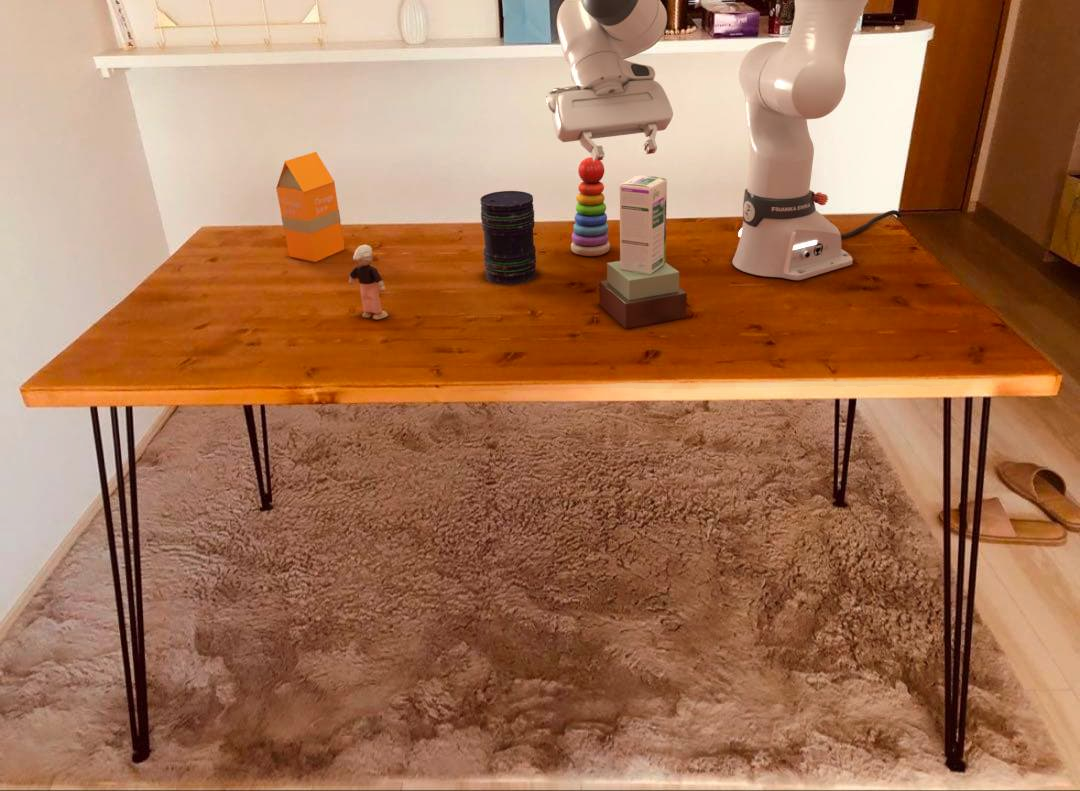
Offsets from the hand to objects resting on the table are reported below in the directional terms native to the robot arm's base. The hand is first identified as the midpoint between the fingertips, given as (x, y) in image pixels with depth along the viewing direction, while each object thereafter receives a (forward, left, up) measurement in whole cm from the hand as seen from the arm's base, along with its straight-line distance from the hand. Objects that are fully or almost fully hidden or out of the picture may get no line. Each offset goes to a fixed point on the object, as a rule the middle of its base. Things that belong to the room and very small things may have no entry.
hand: (625, 155), depth 138 cm
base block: (0, +7, -25) cm, 26 cm away
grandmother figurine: (+43, -11, -25) cm, 51 cm away
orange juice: (+48, -49, -25) cm, 73 cm away
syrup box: (0, +7, -17) cm, 18 cm away
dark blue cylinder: (+15, -19, -25) cm, 35 cm away
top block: (0, +7, -20) cm, 22 cm away
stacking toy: (-4, -25, -25) cm, 36 cm away
